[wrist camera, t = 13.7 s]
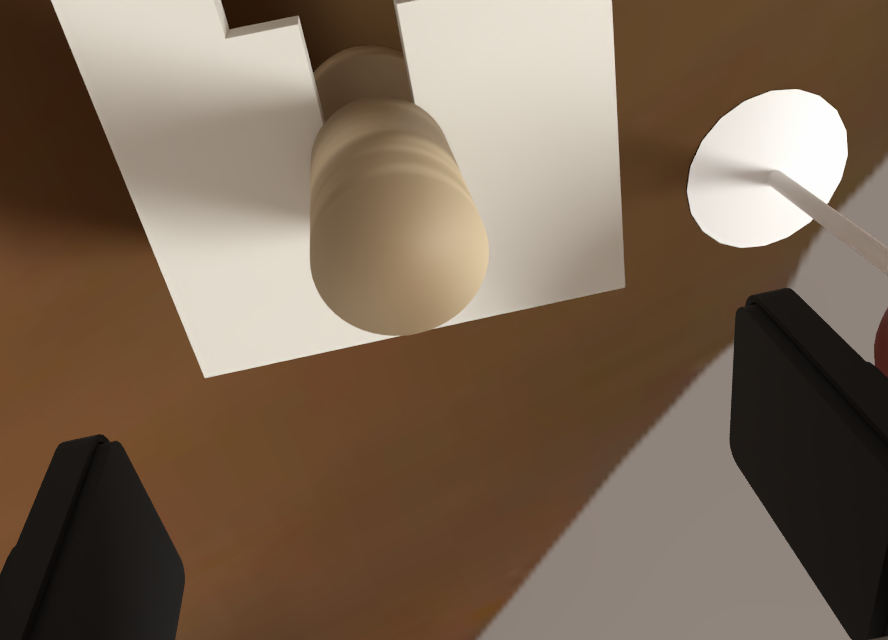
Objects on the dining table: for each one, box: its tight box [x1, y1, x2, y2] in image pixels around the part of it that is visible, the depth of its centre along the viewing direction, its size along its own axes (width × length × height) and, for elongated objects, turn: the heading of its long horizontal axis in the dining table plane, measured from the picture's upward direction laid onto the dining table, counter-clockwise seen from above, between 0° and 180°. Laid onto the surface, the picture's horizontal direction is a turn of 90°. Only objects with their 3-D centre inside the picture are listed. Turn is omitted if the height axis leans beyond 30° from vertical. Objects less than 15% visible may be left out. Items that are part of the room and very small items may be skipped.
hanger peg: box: [310, 45, 489, 336], centre depth 22 cm, size 5×5×10 cm
